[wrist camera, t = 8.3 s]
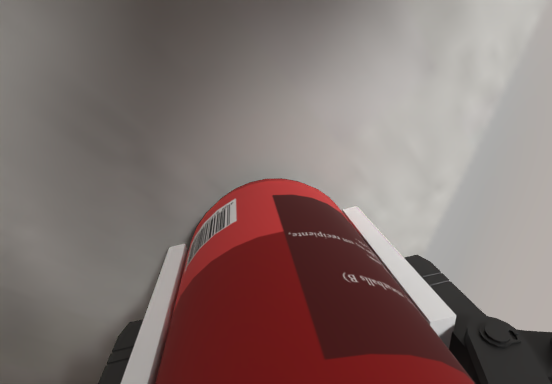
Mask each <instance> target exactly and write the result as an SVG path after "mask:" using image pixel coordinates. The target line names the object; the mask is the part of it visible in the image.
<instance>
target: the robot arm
mask: <svg viewBox="0 0 552 384" xmlns="http://www.w3.org/2000/svg"><path fill="white" fill-rule="evenodd" d="M342 213H343V214H344V215H345V216H346V218H347V219H348V220H349V222H350V223H351V224H352V225H353V227H354V228H355V229H356V231H357V232H358V233H359V234H360V236H361V237H362V238H363V240H364V241H365V242H366V243H367V245H368V246H369V247H370V249H371V250H372V251H373V252H374V254H375V255H376V256H377V258H378V259H379V260H380V261H381V263H382V264H383V265H384V267H385V268H386V269H387V270H388V272H389V273H390V274H391V276H392V277H393V278H394V279H395V281H396V282H397V283H398V285H399V286H400V287H401V289H402V290H403V291H404V292H405V294H406V295H407V296H408V298H409V299H410V300H411V301H412V303H413V304H414V305H415V307H416V308H417V309H418V310H419V312H420V313H421V314H422V316H423V317H424V318H425V319H426V321H427V322H428V323H429V325H430V326H431V327H432V328H433V330H434V331H435V332H436V334H437V335H438V336H439V337H440V339H441V340H442V341H443V343H444V344H445V345H446V346H447V348H448V349H449V350H450V352H451V353H452V354H453V355H454V357H455V358H456V359H457V361H458V362H459V363H460V364H461V366H462V367H463V368H464V370H465V371H466V372H467V373H468V375H469V376H470V377H471V379H472V380H473V381H474V382H475V384H552V332H537V331H523V330H516V329H515V328H514V327H512V326H511V325H509V324H508V323H506V322H504V321H501V320H499V319H497V318H492V317H488V316H486V315H485V314H484V313H483V312H482V311H481V310H479V309H478V308H477V307H476V306H475V305H474V304H473V303H472V302H471V301H470V300H469V299H468V298H467V297H466V296H465V295H464V294H463V293H462V292H461V291H460V290H459V289H458V288H457V287H456V286H455V285H454V284H452V282H450V281H449V279H448V278H447V277H446V276H445V275H444V274H441V272H440V271H439V270H438V269H437V268H436V267H435V266H434V265H433V264H432V263H431V262H430V261H428V260H426V259H424V258H422V257H421V256H419V255H414V256H410V257H405V258H404V257H403V256H402V255H401V254H400V253H399V252H398V251H397V250H396V248H395V247H394V246H393V245H392V244H391V243H390V242H389V241H388V240H387V239H386V237H385V236H384V235H383V234H382V233H381V232H380V231H379V230H378V229H377V228H376V226H375V225H374V224H373V223H372V222H371V221H370V220H369V219H368V218H367V217H366V215H365V214H364V213H363V212H362V211H361V210H360V209H359V208H358V207H357V206H355V207H351V208H346V209H342ZM187 256H188V249H187V246H186V244H181V245H176V246H171V247H169V250H168V252H167V255H166V258H165V261H164V264H163V266H162V269H161V272H160V275H159V278H158V280H157V283H156V286H155V289H154V292H153V294H152V297H151V300H150V303H149V306H148V308H147V311H146V314H145V317H144V319H143V320H139V321H134V322H130V323H129V324H128V325H127V326H126V328H125V329H124V330H123V331H122V333H121V334H120V335H119V336H118V339H117V341H116V343H115V346H114V348H113V350H112V354H111V355H110V357H109V360H108V362H107V366H106V367H105V369H104V371H103V374H102V376H101V378H100V381H99V383H98V384H155V383H156V380H157V376H158V372H159V368H160V364H161V360H162V356H163V352H164V348H165V344H166V340H167V336H168V332H169V328H170V324H171V320H172V316H173V312H174V308H175V304H176V300H177V296H178V292H179V288H180V284H181V280H182V276H183V272H184V268H185V264H186V260H187Z"/></svg>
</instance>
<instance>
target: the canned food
mask: <svg viewBox="0 0 552 384" xmlns="http://www.w3.org/2000/svg"><path fill="white" fill-rule="evenodd" d="M155 384H475V382H474V381H473V380H472V379H471V377H470V376H469V375H468V373H467V372H466V371H465V370H464V368H463V367H462V366H461V364H460V363H459V362H458V361H457V359H456V358H455V357H454V355H453V354H452V353H451V352H450V350H449V349H448V348H447V346H446V345H445V344H444V343H443V341H442V340H441V339H440V337H439V336H438V335H437V334H436V332H435V331H434V330H433V328H432V327H431V326H430V325H429V323H428V322H427V321H426V319H425V318H424V317H423V316H422V314H421V313H420V312H419V310H418V309H417V308H416V307H415V305H414V304H413V303H412V301H411V300H410V299H409V298H408V296H407V295H406V294H405V292H404V291H403V290H402V289H401V287H400V286H399V285H398V283H397V282H396V281H395V279H394V278H393V277H392V276H391V274H390V273H389V272H388V270H387V269H386V268H385V267H384V265H383V264H382V263H381V261H380V260H379V259H378V258H377V256H376V255H375V254H374V252H373V251H372V250H371V249H370V247H369V246H368V245H367V243H366V242H365V241H364V240H363V238H362V237H361V236H360V234H359V233H358V232H357V231H356V229H355V228H354V227H353V225H352V224H351V223H350V222H349V220H348V219H347V218H346V216H345V215H344V214H343V213H342V211H341V210H340V209H339V208H338V206H337V205H336V204H335V203H334V202H333V201H332V200H331V199H330V198H329V197H328V196H326V195H325V194H324V193H322V192H321V191H319V190H318V189H316V188H313V187H311V186H308V185H306V184H303V183H300V182H297V181H293V180H287V179H263V180H259V181H254V182H250V183H248V184H245V185H243V186H240V187H238V188H236V189H234V190H233V191H231V192H230V193H228V194H227V195H225V196H224V197H222V198H221V199H220V200H219V201H218V202H217V203H216V204H215V205H214V206H213V207H212V208H211V209H210V210H209V211H208V212H207V213H206V214H205V216H204V217H203V219H202V220H201V222H200V223H199V224H198V226H197V228H196V230H195V233H194V235H193V238H192V240H191V244H190V248H189V252H188V256H187V260H186V264H185V268H184V272H183V276H182V280H181V284H180V288H179V292H178V296H177V300H176V304H175V308H174V312H173V316H172V320H171V324H170V328H169V332H168V336H167V340H166V344H165V348H164V352H163V356H162V360H161V364H160V368H159V372H158V376H157V380H156V383H155Z"/></svg>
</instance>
